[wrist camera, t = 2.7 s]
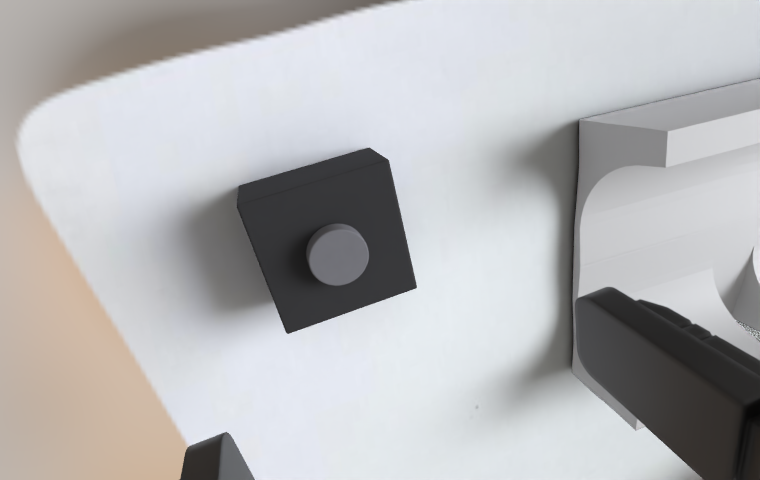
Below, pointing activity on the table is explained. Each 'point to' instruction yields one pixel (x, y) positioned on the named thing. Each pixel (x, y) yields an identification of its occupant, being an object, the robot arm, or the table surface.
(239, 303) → the table surface
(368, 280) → the dark block with knob
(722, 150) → the white notched trough tray
